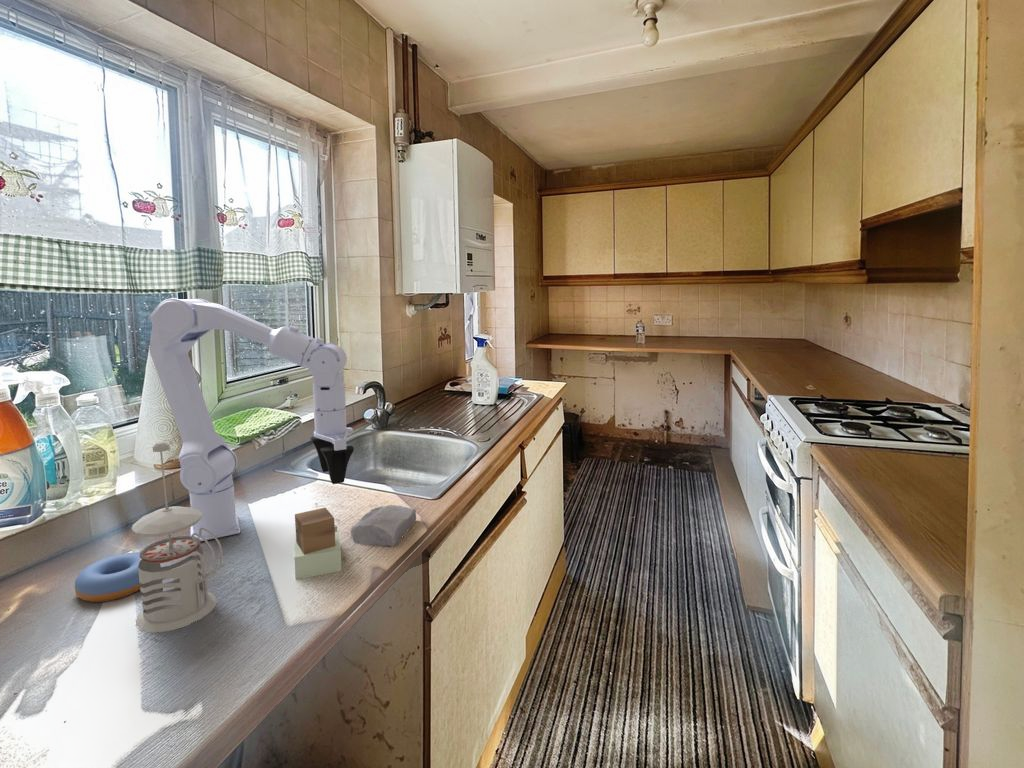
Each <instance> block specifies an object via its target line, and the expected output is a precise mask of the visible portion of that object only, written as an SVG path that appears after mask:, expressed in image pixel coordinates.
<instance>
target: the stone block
mask: <svg viewBox="0 0 1024 768" xmlns="http://www.w3.org/2000/svg"><path fill="white" fill-rule="evenodd" d="M416 520H417V510H416V509H415V508H414V507H413V508H411V507H407V506H403V505H396V504H394V505H393V504H388V505H384V506H383V505H382V506H381V505H380V506H378V507H375V508H372V509H370V511H368V512H366V513H365V514H364V515H363V516H362V517H361V518H360V519H359V521H357V522H356V523H355V524H354V525H353V526H352V527H351V529H350V537H351V538H352V541H353V543H355V544H358V545H359V544H360V545H362V546H379V545H381V546H380V547H391V546H393V547H395V546H397V544H398V543H399V542H400V541H401V540H402V539H403V537H404V536H405V535H406V534H407V533H408V532H407V530H408V529H409V528H410V527H411V526H412V525H413V523H414V522H415V523H416ZM415 523H414V524H415ZM413 526H414V525H413ZM413 526H412V527H413ZM412 527H411V528H412ZM411 528H410V529H411ZM410 529H409V530H410ZM409 530H408V531H409ZM406 532H407V533H406ZM405 533H406V534H405ZM404 534H405V535H404ZM403 535H404V536H403ZM402 536H403V537H402ZM401 538H402V539H401ZM400 539H401V540H400ZM399 540H400V541H399ZM398 541H399V542H398Z"/></svg>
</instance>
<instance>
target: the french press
mask: <svg viewBox="0 0 1024 768" xmlns="http://www.w3.org/2000/svg"><path fill="white" fill-rule="evenodd" d="M169 450H170V445H169V444H168V442H165V441H157V442H156V443H155V444H154V445H152V452H153V453H160V454H159V455H160V464H161V472H162V481H163V482H162V484H163V493H164V501H165V507H163V508H159V509H155V510H154V511H152V512H150V513H148V514H145V515H142V516H141V517H140V518H139V519H138V520H137V521H136V522H134V523H133V524H132V526H131V530H132V531H133V533H135V534H136V535H137V536H142V537H160V536H167V535H168V537H167V538H164V539H161V540H156V541H154V542H152V543H151V544H149V545H146V546H145V547H144V548H143V549H142V550H141V551H140V552H139V553H140V556H139V557H140V558H142V560H141V561H140V562H139V565H138V572H139V582H140V583H141V585H140V590H139V591H140V593H141V595H140V596H141V598H140V599H141V606H142V610H141V612H140V613H139V614H138V615H137V616H136V617H137V619H135V622H136V625H135V627H137V626H138V627H139V628H138V627H137V628H138V630H139V631H141V632H146V633H154V634H155V633H162V632H163V633H164V632H171V631H174V630H178V629H180V628H184V627H187V626H190V625H192V624H194V623H196V622H197V620H198V621H200V620H202V619H203V618H204V617H205V616H207V615H208V614H210V613H211V612H212V611H213V609H214V608H215V607H216V606H217V596H216V595H214V594H212V592H210V591H208V589H209V588H208V579H209V577H211V575H213V574H214V573H216V572H217V571H218V570H219V569H220V567H221V564H222V560H223V547H222V545H221V542H220V540H219V539H218V538H217V537H216V536H215V535H214V534H213V533H212V532H211V531H209V530H207V529H205V528H200V530H199V534H197V533H193V534H192V535H191V534H190V535H189V534H188V535H180V536H179V535H178V536H171V535H172V534H175V533H179V532H182V531H184V530H188V529H190V528H191V526H193V525H195V524H196V523H197V522H198V521H199V520H200V519H201V517H202V512H200V511H199V510H197V509H194V508H191V507H189V506H179V505H174V506H168V498H167V489H166V477H165V470H164V458H163V457H164V456H163V452H167V451H169ZM202 530H205V531H207V532H209V533H210V534H211V535H212V536H213V537H214V539H215V541H216V543H217V545H218V548H219V563H218V565H217V567H216V568H215V566H216V559H215V550H214V548H213V547H212V545H211V544H210V542H209V541H208V540H206V539H205V538H204V537H203V536H201V532H202ZM194 535H196V536H198V538H197V537H195V536H194ZM199 538H202V539H203V540H204V541H203V542H205V543H206V544H207V546H208V548H209V549H210V550H211V556H212V566H211V567H212V568H211V569H210V572H208V573H207V569H206V560H205V559H206V557H205V556H206V555H205V548H203V547H202V546H201V545H202V541H201V540H200V539H199ZM194 552H198V553H199V554H201V555H200V556H199V555H190V554H193V553H194ZM189 555H190V556H189ZM186 556H188V557H186ZM183 557H186V558H184V559H182V560H180V561H178V562H175V563H173V564H170V565H166V566H162V565H161V564H164V563H168V562H173V561H174V560H177V559H181V558H183ZM197 560H198V561H199V562H200V563H199V562H198V561H197ZM190 561H192V562H191V563H189V562H190ZM186 563H188V564H186ZM199 569H200V570H201V571H199ZM199 577H201V578H199ZM167 579H168V580H170V579H174V580H171V581H167V582H163V581H164V580H167ZM165 588H166V589H167V588H169V589H168V590H164V589H165ZM195 621H196V622H195ZM193 622H194V623H193ZM191 623H192V624H191Z"/></svg>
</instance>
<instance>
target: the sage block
mask: <svg viewBox="0 0 1024 768" xmlns="http://www.w3.org/2000/svg"><path fill="white" fill-rule="evenodd" d="M340 541H341V539H340V532H339V531H337V532H335V546H333V547H330V548H326V549H322V550H319V551H315V552H311V553H307V554H303V552H302V550H301V549H300V547H299V546H298V544H297V542H296V539H295V541H294V542H295V543H294V544H295V545H294V560H293V561H294V572H295V575H294V576H295V577H294V578H295V580H297V579H303V578H309V577H310V578H311V577H315V576H320V575H322V576H323V575H326V574H331V573H332V574H333V573H337V572H342V551H341V542H340Z"/></svg>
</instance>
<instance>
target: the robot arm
mask: <svg viewBox="0 0 1024 768" xmlns="http://www.w3.org/2000/svg"><path fill="white" fill-rule="evenodd" d="M149 320H150V323H151V333H150V340H149V346H148V349H149V354H150V357H151V359H152V362H153V364H154V367H155V369H156V373H157V376H158V379H159V381H160V384H161V385H162V389H163V392H164V396H165V398H166V400H167V403H168V405H169V408H170V411H171V413H172V416H173V418H174V422H175V424H176V427H177V431H178V433H179V436H180V439H181V441H182V446H181V450H180V451H179V455H178V461H179V464H180V472H179V479H180V482H181V485H183V487H184V488H185V489H187V490H188V494H189V503H190V508H194V509H197V510H199V511H200V512H202V517H201V519H200V520H199V521H198V522H197V523H196V524H195V525H193V526H191V527H190V536H191V535H192V534H193V533H197V534H199V530H200V528H205V529H207V530H209V531H211V532H212V533H213V534H214V535H215V536H216V537H217V539H218V538H223V537H227V536H228V537H229V536H233V535H238V534H240V533H241V528H240V522H239V519H238V518H239V517H238V514H237V512H236V501H235V487H234V479H233V473H234V472H235V471H236V469H237V467H238V463H239V462H238V456H237V454H236V453H235V452H234V451H233V450H232V449H231V447H229V445H228V443H227V441H226V439H225V437H223V436H221V435H220V434H218V433H217V432H216V429H215V426H214V424H213V421H212V418H211V415H210V413H209V409H208V407H207V404H206V402H205V399H204V395H203V392H202V389H201V388H200V385H199V384H200V383H199V381H198V378H197V376H196V373H195V370H194V367H193V365H192V361H191V359H190V356H189V352H190V351H191V349H193V346H195V344H196V342H197V341H198V340H199V339H200V338H202V337H203V336H205V335H206V334H207V333H209V332H211V331H213V330H223V331H226V332H230V333H233V334H234V335H238V336H241V337H243V338H246V339H249V340H252V341H254V342H258V343H259V344H262V345H265V346H267V348H268V350H269V352H270V354H271V355H272V356H274V357H277V358H279V359H282V360H285V361H287V362H290V363H292V364H293V365H294V364H295V365H297V366H300V367H302V368H303V369H306V368H307V369H308V371H309V372H310V374H312V396H313V397H312V399H313V401H312V402H313V403H312V404H313V419H314V431H313V436H311V437H310V438H309V439H310V440H311V442H312V444H313V446H314V448H315V450H316V453H317V456H318V460H319V464H320V468H321V471H322V472H323V473H327V472H328V475H329V479H330V482H331V484H332V485H336V484H342V483H345V478H346V473H347V470H348V464H349V461H350V459H351V456H352V455H353V453H354V451H355V450H354V447H355V446H352V445H347V436H348V434H352V433H354V429H353V428H352V427H351V426H349V427H347V408H346V404H347V403H346V383H345V374H344V373H345V371H344V368H345V366H346V365H347V361H348V360H347V353H346V352H345V350H344V349H343V348H342V347H340V346H339V345H337V344H336V343H334V342H328V343H327V342H326V343H324V341H325V340H324V339H323V338H321V337H317V338H315V337H312V336H310V335H307V334H304V333H302V332H300V331H299V330H300V329H299V327H297V326H294V325H291V326H289V327H288V326H281V327H278V328H276V329H275V328H273V327H271V326H268V325H267V324H265V323H262V322H260V321H257V320H255V319H254V318H251V317H249V316H246V315H244V314H242V313H240V312H237V311H235V310H233V309H231V308H229V307H226V306H224V305H222V304H219V303H216V302H210V301H208V300H206V299H204V298H192V299H187V298H185V299H179V298H175V297H171V298H166V299H164V300H162V301H161V302H159V304H157V306H156V307H155V308H154V310H153V311H152V312H151V313H150V315H149ZM194 536H195V537H197V538H198V536H196V535H194ZM201 536H203V537H204V538H205V539H206V540H207V541H208V540H214V539H215V538H214V537H213V536H212V535H211V534H210V533H209V532H207V531H205V530H202V532H201ZM199 539H200V540H201V542H205V541H204V540H203V539H202V538H199Z"/></svg>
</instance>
